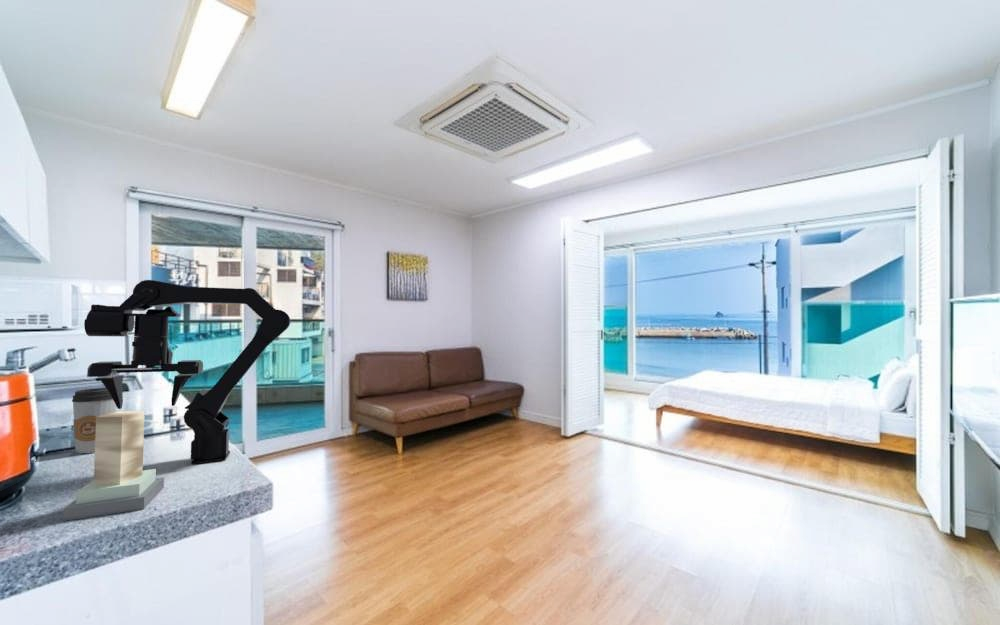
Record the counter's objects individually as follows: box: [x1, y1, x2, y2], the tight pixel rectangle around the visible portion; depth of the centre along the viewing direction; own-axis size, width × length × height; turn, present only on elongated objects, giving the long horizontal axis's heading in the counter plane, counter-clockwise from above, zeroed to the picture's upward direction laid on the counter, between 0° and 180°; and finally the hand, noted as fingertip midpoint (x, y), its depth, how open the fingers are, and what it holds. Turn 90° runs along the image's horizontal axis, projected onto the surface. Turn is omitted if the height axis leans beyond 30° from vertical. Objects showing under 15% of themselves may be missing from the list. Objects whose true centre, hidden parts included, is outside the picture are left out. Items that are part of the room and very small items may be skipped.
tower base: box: [63, 468, 165, 522], centre depth 70 cm, size 10×10×4 cm
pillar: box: [93, 410, 145, 485], centre depth 71 cm, size 4×4×12 cm
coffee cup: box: [71, 387, 118, 454], centre depth 100 cm, size 8×8×15 cm
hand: (147, 407), depth 89 cm, fingers open, 9 cm apart
